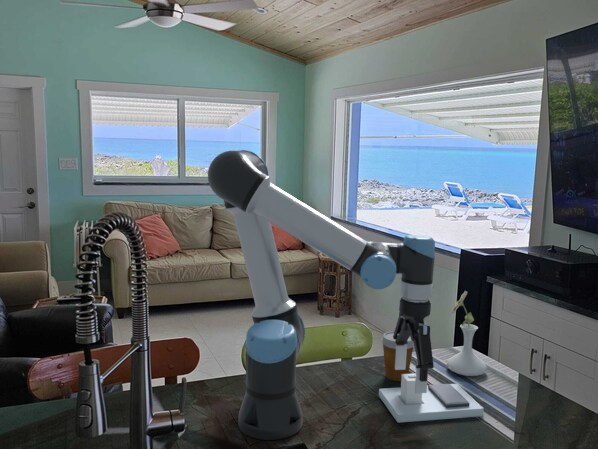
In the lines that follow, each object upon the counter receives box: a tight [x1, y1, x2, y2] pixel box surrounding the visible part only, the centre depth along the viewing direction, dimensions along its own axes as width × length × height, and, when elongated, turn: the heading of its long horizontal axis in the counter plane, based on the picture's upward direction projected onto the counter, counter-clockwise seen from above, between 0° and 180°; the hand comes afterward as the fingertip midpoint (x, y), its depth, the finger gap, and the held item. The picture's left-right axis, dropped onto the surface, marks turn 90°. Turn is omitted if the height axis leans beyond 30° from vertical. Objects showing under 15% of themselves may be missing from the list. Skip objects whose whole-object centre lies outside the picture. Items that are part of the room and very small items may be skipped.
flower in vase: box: [446, 290, 488, 377], centre depth 155 cm, size 13×11×25 cm
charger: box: [400, 372, 422, 405], centre depth 134 cm, size 4×4×8 cm
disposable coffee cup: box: [380, 330, 415, 382], centre depth 152 cm, size 10×10×12 cm
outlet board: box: [378, 383, 485, 423], centre depth 135 cm, size 22×14×2 cm, turn 100°
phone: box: [427, 383, 469, 408], centre depth 136 cm, size 6×11×1 cm, turn 10°
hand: (409, 380), depth 134 cm, fingers open, 13 cm apart
